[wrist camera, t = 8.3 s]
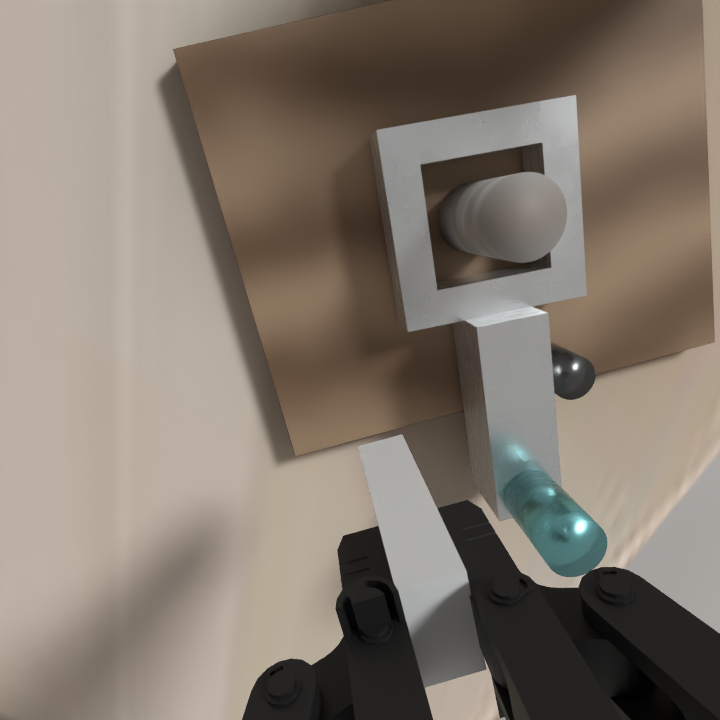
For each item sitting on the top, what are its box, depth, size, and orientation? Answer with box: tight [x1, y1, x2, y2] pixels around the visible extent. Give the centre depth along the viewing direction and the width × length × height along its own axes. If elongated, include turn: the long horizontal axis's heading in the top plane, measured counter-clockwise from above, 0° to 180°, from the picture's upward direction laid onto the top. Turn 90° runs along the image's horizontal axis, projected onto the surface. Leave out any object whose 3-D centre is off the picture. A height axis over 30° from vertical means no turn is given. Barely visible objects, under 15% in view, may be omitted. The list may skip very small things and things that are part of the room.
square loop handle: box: [369, 95, 607, 577], centre depth 21 cm, size 17×8×8 cm, turn 10°
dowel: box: [551, 342, 595, 400], centre depth 25 cm, size 2×2×4 cm
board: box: [173, 0, 715, 456], centre depth 21 cm, size 18×22×7 cm
